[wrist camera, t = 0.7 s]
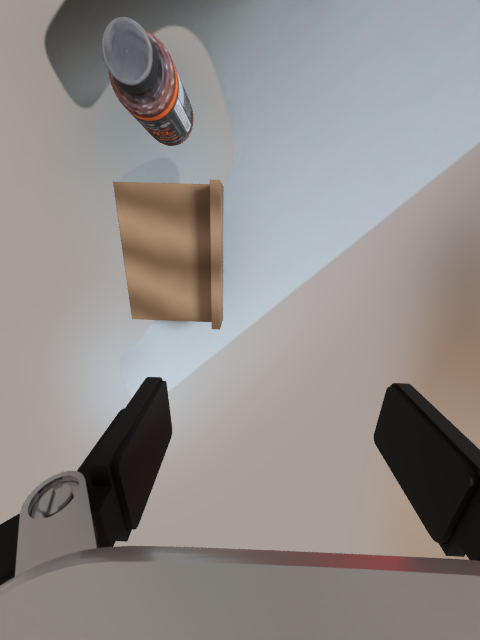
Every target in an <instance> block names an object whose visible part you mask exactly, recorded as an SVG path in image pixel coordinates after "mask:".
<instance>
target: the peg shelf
mask: <svg viewBox="0 0 480 640" xmlns="http://www.w3.org/2000/svg"><path fill="white" fill-rule="evenodd" d="M113 185H114V191H115V199H116V206H117V212H118V220H119V228H120V235H121V242H122V249H123V256H124V264H125V270H126V278H127V284H128V292H129V299H130V307H131V313H132V319H150V320H174V321H200V322H212V329H220V327H221V324H222V320H223V185H222V183H221V181H220V180H210V184H175V183H139V182H113Z"/></svg>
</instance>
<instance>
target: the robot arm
mask: <svg viewBox="0 0 480 640" xmlns="http://www.w3.org/2000/svg"><path fill="white" fill-rule="evenodd" d="M171 435H172V424H171V416H170V409H169V400H168V392H167V384H166V381H162V378H161V377H147V378H146V379H145V380H144V382H143V383H142V385H141V386H140V388H139V389H138V390H137V392H136V393H135V395H134V396H133V398H132V399H131V401H130V402H129V403H128V405H127V407H126V408H125V409H123V410H121V411H120V412H119V413H118V414H117V416H116V417H115V419H114V420H113V421H112V423H111V424H110V426H109V427H108V428H107V430H106V431H105V433H104V434H103V435H102V437H101V438H100V440H99V441H98V442H97V444H96V445H95V447H94V448H93V449H92V451H91V452H90V454H89V455H88V456H87V458H86V459H85V461H84V462H83V464H82V465H81V466H80V468H79V469H78V470H77V471H67V472H62V473H59V474H57V475H54V476H52V477H50V478H49V479H47V480H45V481H44V482H43V483H41V484H40V485H39V486H38V487H36V488H35V489H34V490H33V491H32V493H31V494H30V495H29V496H28V497H27V499H26V500H25V502H24V504H23V505H22V509H21V512H20V514H18V515H16V516H14V517H13V518H11V519H9V520H8V521H6V522H4V523H2V524H1V525H0V640H480V450H479V449H478V448H477V447H476V446H475V445H474V444H473V443H472V442H471V441H469V439H468V438H467V437H465V436H464V435H463V434H462V433H461V432H460V431H459V430H458V429H457V428H456V427H455V426H454V425H453V424H452V423H451V422H450V421H449V420H447V419H446V418H445V417H444V416H443V415H442V414H441V413H440V412H439V411H438V410H437V409H436V408H435V407H434V406H433V405H432V404H430V403H429V402H428V401H427V400H426V399H425V398H424V397H423V396H422V395H421V394H420V393H419V392H418V391H416V389H414V387H413V386H411V385H410V384H402V383H401V384H400V383H394V384H392V385H391V386H390V387H388V388H387V390H386V393H385V397H384V401H383V405H382V408H381V411H380V415H379V419H378V422H377V426H376V430H375V433H374V442H375V444H376V446H377V448H378V449H379V451H380V453H381V454H382V456H383V458H384V459H385V461H386V463H387V464H388V466H389V468H390V469H391V471H392V473H393V474H394V476H395V478H396V479H397V481H398V483H399V484H400V486H401V488H402V489H403V491H404V493H405V494H406V496H407V498H408V500H409V501H410V503H411V504H412V506H413V508H414V510H415V511H416V513H417V515H418V516H419V518H420V520H421V521H422V523H423V524H424V526H425V528H426V530H427V531H428V533H429V534H430V536H431V538H432V539H433V540H434V541H435V542H438V543H439V545H440V546H441V548H442V550H443V551H444V553H445V554H446V556H461V557H464V556H465V554H466V555H467V557H468V558H469V560H460V559H441V558H422V557H403V556H402V557H401V556H382V555H362V554H342V553H319V552H296V551H275V550H250V549H224V548H199V547H156V546H122V547H113V546H114V543H115V541H127V540H128V538H129V535H130V533H131V530H132V529H136V528H137V526H138V524H139V522H140V519H141V517H142V514H143V511H144V509H145V506H146V503H147V501H148V498H149V495H150V493H151V490H152V487H153V485H154V482H155V479H156V476H157V474H158V471H159V469H160V466H161V463H162V460H163V458H164V455H165V453H166V450H167V447H168V444H169V442H170V439H171Z"/></svg>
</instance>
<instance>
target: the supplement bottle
mask: <svg viewBox="0 0 480 640" xmlns="http://www.w3.org/2000/svg"><path fill="white" fill-rule="evenodd" d="M102 55H103V59H104V62H105V64H106V67H107V68H108V71H109V78H110V81H111V85H112V87H113V90H114V92H115V94H116V96H117V97H118V99H119V101H120V102H121V103H122V104H123V105H124V107H125V108H126V109H127V110H128V111H129V112H130V113H131V114H132V115H133V116H134V117H135V118H136V119H137V120H138V121H139V122H140V123H141V124H142V125H143V127H144V128H145V129H146V130H147V131H148V132H149V133H150V134H151V135H152V136H153V137H154V138H155V139H156V140H158V141H159V142H160V143H163V144H165V145H168V146H174V145H178V144H180V143H182V142H183V141H185V140H186V139H187V138H188V136H189V134H190V132H191V130H192V126H193V111H192V107H191V104H190V101H189V99H188V96H187V94H186V92H185V89H184V87H183V85H182V82H181V80H180V78H179V75H178V73H177V70H176V68H175V66H174V64H173V61H172V59H171V56H170V54H169V53H168V51H167V49H166V47H165V46H164V45H163V43H162V42H161V41H160V40H159V39H158V38H157V37H156V36H154V35H153V34H152V33H150V32H148V31H146V30H144V29H143V28H142V27H141V25H140V24H139V23H137V22H136V21H135V20H133V19H131V18H127V17H118V18H115V19H113V21H111V22H110V23H109V24H108V25H107V27H106V29H105V31H104V33H103V37H102Z"/></svg>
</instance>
